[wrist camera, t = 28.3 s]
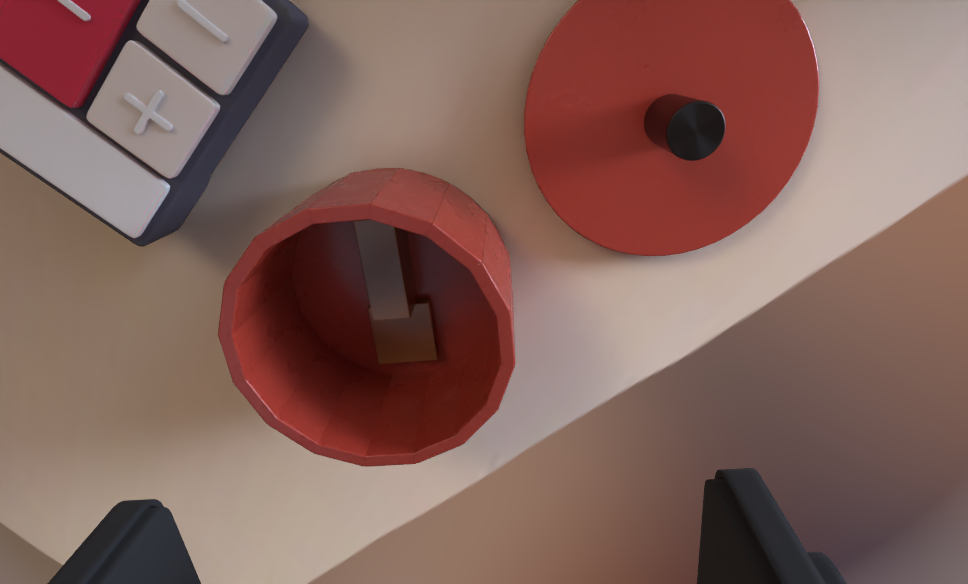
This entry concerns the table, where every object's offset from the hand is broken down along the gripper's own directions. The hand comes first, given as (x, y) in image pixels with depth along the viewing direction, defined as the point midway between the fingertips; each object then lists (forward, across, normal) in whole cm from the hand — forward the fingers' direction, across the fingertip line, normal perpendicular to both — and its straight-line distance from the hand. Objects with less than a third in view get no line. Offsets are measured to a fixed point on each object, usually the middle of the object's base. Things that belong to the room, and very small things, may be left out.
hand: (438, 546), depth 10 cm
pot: (+24, +6, +4) cm, 25 cm away
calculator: (+24, +17, -9) cm, 31 cm away
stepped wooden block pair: (+24, +6, +4) cm, 25 cm away
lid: (+24, -10, -4) cm, 26 cm away
